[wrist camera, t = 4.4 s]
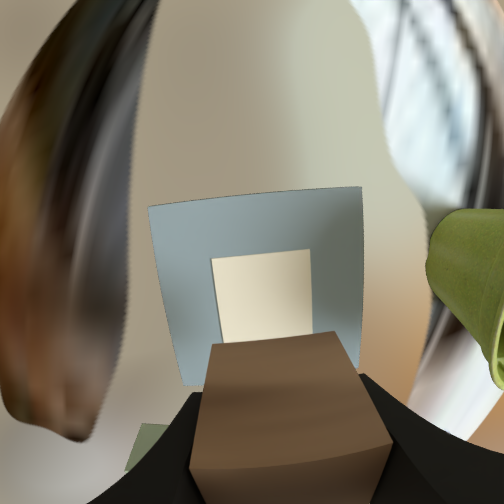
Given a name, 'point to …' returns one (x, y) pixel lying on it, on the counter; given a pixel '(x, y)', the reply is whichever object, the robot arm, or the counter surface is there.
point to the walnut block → (287, 425)
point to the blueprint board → (259, 270)
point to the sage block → (144, 442)
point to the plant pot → (472, 277)
